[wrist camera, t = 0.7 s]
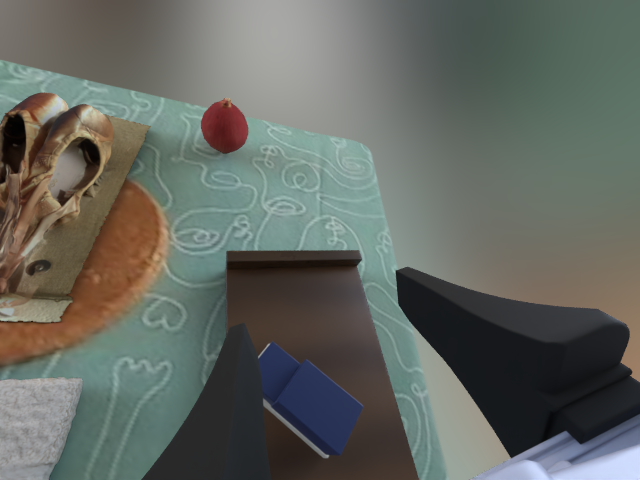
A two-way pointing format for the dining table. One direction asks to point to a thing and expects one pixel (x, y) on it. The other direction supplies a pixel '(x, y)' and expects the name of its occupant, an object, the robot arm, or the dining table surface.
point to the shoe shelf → (321, 356)
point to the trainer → (307, 401)
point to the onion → (224, 126)
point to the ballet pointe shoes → (55, 198)
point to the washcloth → (35, 425)
